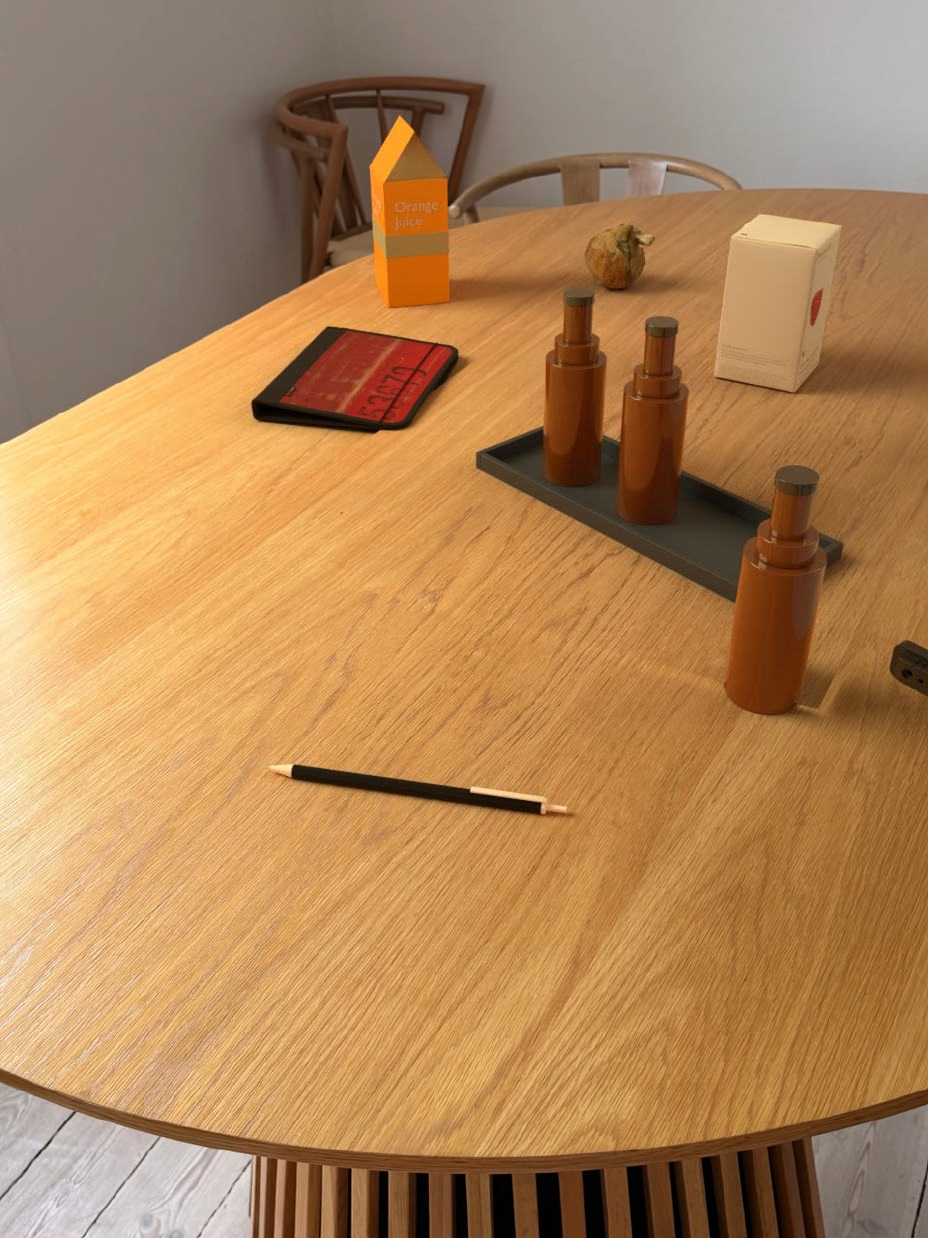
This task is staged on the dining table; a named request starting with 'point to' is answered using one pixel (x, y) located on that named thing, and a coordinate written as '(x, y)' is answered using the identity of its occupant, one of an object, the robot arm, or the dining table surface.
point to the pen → (422, 789)
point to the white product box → (776, 301)
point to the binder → (356, 381)
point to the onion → (617, 255)
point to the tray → (687, 544)
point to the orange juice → (409, 221)
